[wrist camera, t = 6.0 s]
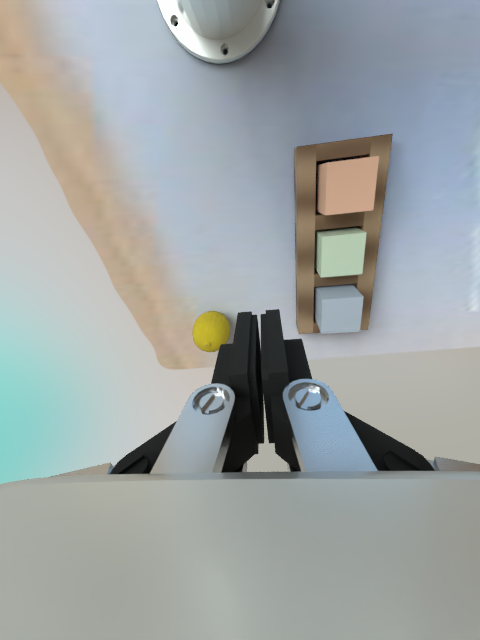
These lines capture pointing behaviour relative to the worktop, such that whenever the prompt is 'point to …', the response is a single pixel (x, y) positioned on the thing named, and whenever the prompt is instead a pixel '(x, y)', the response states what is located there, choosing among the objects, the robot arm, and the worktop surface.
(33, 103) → the worktop surface
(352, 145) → the button board
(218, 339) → the lemon
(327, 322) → the button slate
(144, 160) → the worktop surface
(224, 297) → the worktop surface
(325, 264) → the button sage
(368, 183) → the button terracotta
